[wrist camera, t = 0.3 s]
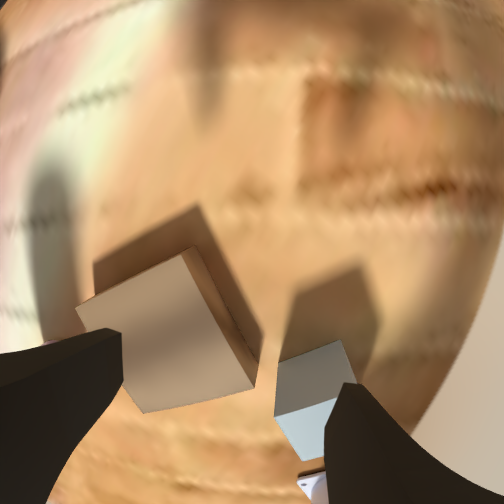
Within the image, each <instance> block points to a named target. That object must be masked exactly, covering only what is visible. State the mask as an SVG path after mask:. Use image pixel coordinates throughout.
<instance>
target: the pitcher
mask: <svg viewBox="0 0 504 504" xmlns="http://www.w3.org/2000/svg"><path fill="white" fill-rule="evenodd" d="M6 1H7V0H0V9H1V8H2V7H3V5H4V4H5V2H6Z"/></svg>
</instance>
